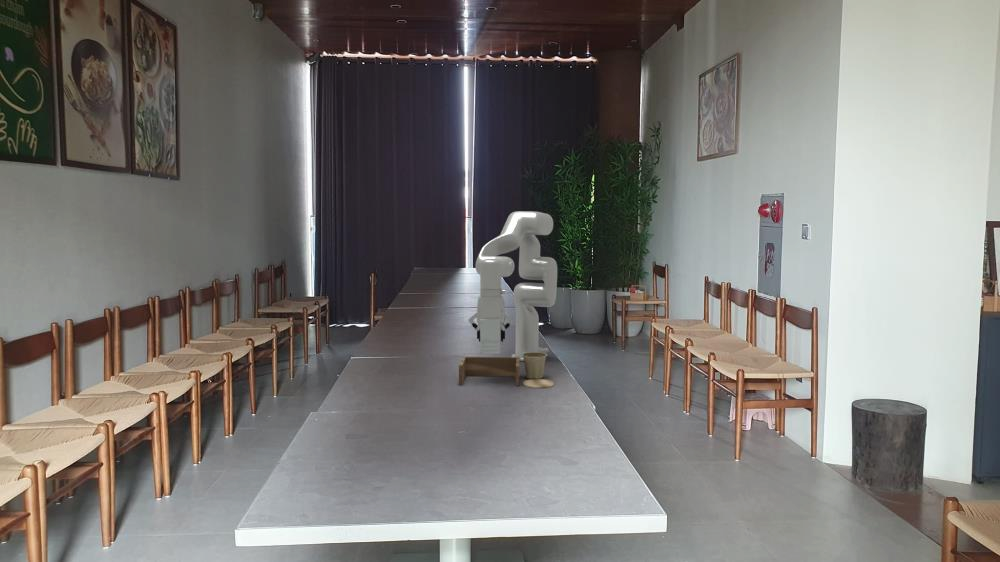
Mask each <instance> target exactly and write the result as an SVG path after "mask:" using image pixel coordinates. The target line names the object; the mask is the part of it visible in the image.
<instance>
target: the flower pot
mask: <svg viewBox="0 0 1000 562" xmlns="http://www.w3.org/2000/svg"><path fill="white" fill-rule="evenodd" d="M522 356H523V359H524V361H523V362H524V368H525V377H526V378H527V379H529V380H530V379H543V377H544V371H545V366H546V365H545V363H546V361H547V357H548V354H547V352H546V353H541V352H527V353H523V354H522Z"/></svg>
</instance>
